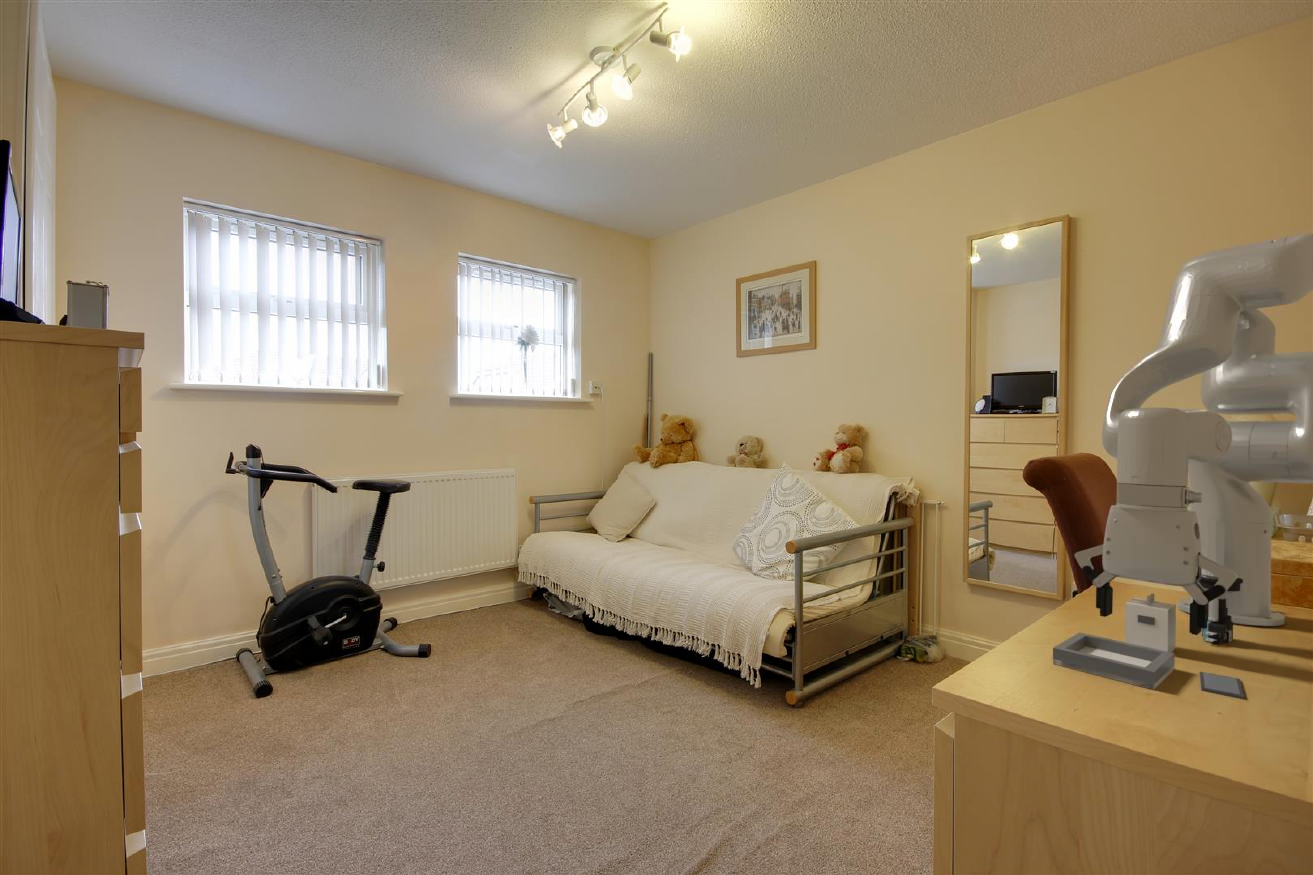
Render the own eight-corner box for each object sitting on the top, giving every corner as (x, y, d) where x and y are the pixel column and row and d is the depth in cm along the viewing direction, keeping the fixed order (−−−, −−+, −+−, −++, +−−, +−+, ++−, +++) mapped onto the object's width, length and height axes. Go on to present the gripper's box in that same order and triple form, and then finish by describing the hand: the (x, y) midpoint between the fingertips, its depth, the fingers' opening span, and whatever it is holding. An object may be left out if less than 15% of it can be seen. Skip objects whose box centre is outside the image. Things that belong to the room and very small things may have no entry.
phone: (1199, 678, 73) (1199, 670, 73) (1239, 685, 71) (1239, 678, 71) (1201, 695, 68) (1201, 688, 68) (1244, 704, 66) (1244, 696, 66)
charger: (1134, 639, 86) (1134, 589, 86) (1175, 648, 82) (1175, 595, 82) (1125, 646, 83) (1125, 594, 83) (1167, 655, 79) (1167, 601, 79)
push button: (1233, 650, 81) (1233, 576, 81) (1182, 639, 86) (1183, 569, 86) (1247, 641, 85) (1248, 571, 85) (1198, 631, 90) (1199, 564, 90)
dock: (1079, 646, 82) (1079, 632, 82) (1174, 669, 74) (1174, 653, 74) (1052, 663, 76) (1053, 647, 76) (1153, 689, 68) (1153, 672, 68)
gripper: (1243, 503, 78) (1241, 635, 78) (1085, 492, 91) (1083, 605, 91) (1233, 505, 73) (1230, 646, 73) (1068, 493, 87) (1065, 612, 87)
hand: (1148, 623), depth 82 cm, fingers open, 9 cm apart
